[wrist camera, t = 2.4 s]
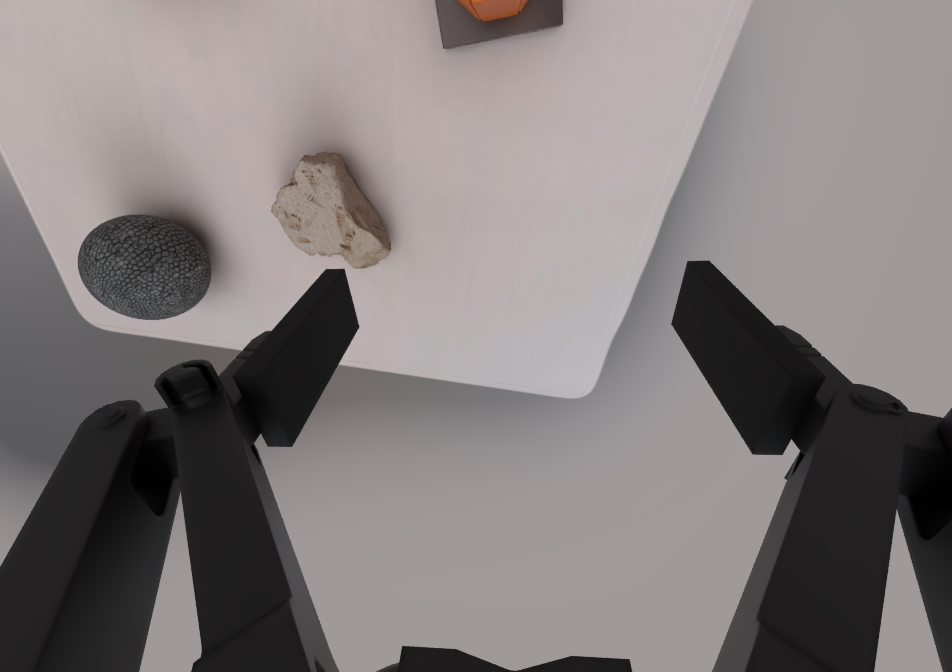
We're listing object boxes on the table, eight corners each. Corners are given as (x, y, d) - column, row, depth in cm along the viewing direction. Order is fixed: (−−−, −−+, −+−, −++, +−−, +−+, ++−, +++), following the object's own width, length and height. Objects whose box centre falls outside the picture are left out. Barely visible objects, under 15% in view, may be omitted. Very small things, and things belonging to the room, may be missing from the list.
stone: (343, 137, 36) (321, 147, 32) (406, 248, 42) (395, 269, 38) (267, 178, 39) (238, 192, 35) (336, 278, 44) (319, 300, 40)
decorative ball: (128, 258, 44) (41, 303, 36) (142, 181, 40) (45, 212, 31) (218, 305, 47) (157, 356, 39) (242, 238, 42) (178, 281, 34)
